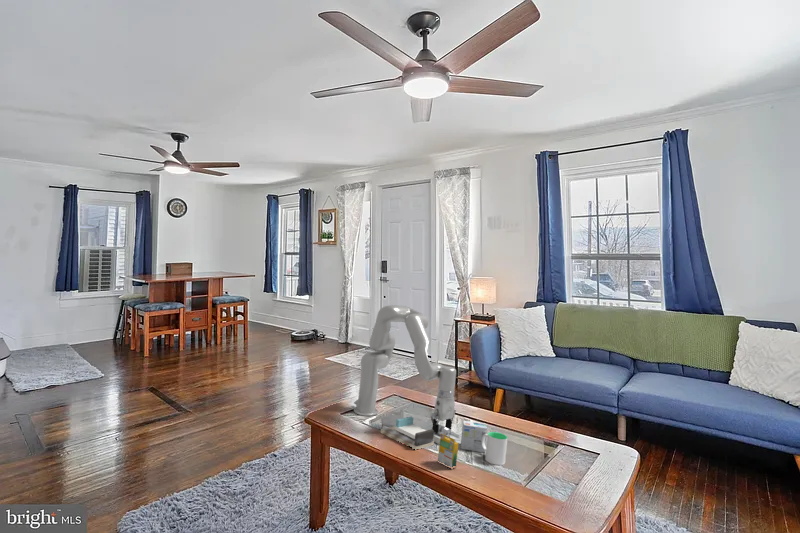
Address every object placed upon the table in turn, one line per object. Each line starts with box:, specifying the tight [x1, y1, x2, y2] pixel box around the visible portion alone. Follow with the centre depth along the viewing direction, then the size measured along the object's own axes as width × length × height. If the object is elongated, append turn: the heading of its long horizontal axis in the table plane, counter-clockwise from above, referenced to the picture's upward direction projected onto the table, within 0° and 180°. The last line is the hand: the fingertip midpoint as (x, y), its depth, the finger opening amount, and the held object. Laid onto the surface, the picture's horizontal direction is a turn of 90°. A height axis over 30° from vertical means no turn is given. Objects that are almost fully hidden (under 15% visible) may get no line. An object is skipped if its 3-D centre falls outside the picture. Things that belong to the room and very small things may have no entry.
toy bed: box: [395, 416, 428, 440], centre depth 176 cm, size 12×10×6 cm
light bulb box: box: [460, 419, 488, 453], centre depth 177 cm, size 11×7×11 cm, turn 84°
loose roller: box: [434, 424, 452, 438], centre depth 184 cm, size 8×4×4 cm, turn 45°
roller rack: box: [433, 429, 461, 445], centre depth 184 cm, size 12×14×2 cm
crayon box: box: [437, 433, 459, 467], centre depth 156 cm, size 7×3×12 cm, turn 43°
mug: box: [482, 431, 508, 466], centre depth 167 cm, size 12×8×10 cm
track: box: [380, 425, 435, 451], centre depth 178 cm, size 22×12×6 cm, turn 45°
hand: (441, 430), depth 184 cm, fingers open, 9 cm apart
